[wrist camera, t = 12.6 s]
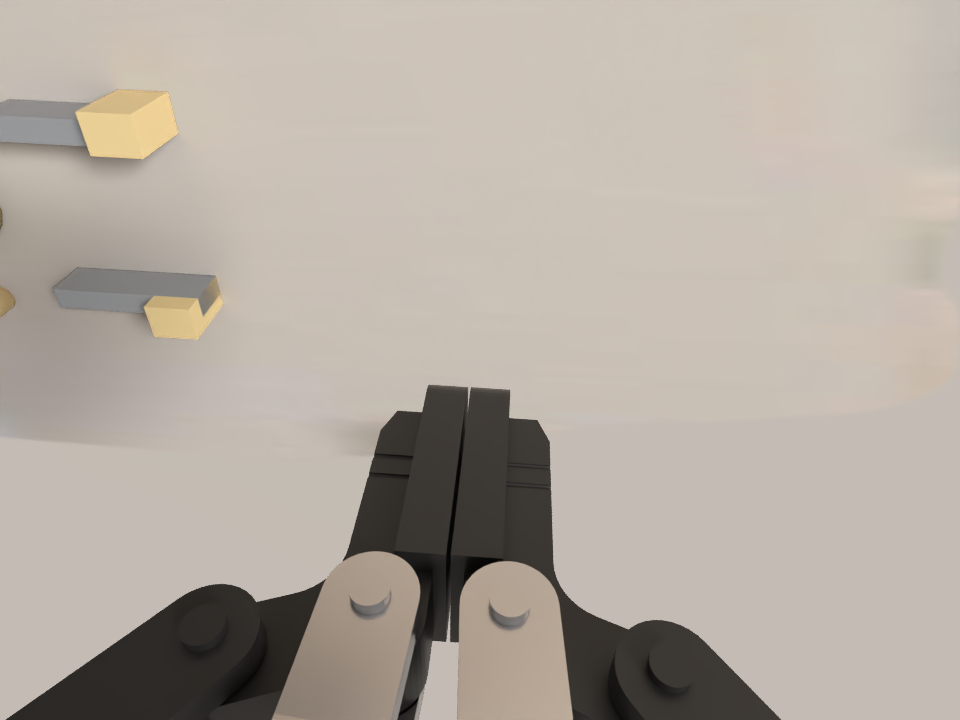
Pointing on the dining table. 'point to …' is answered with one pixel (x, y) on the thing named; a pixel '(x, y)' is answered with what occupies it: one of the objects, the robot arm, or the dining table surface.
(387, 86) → the dining table surface
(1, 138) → the wooden post frame
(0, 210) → the squeeze bottle
